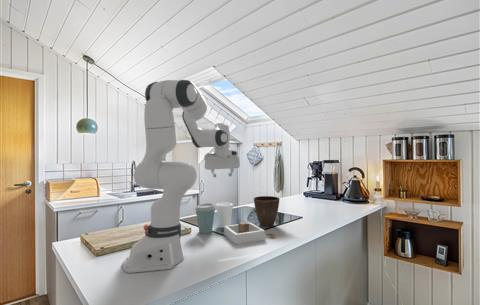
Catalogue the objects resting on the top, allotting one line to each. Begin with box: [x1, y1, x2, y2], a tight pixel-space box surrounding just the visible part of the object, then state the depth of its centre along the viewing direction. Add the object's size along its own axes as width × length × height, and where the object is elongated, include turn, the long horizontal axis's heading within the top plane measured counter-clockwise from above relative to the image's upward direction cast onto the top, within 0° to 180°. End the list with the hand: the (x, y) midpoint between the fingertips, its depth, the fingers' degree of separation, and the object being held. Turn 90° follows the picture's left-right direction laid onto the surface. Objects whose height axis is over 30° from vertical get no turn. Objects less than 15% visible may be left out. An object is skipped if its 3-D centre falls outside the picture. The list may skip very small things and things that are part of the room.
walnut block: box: [237, 221, 250, 233], centre depth 127 cm, size 4×4×7 cm
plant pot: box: [253, 195, 281, 228], centre depth 149 cm, size 15×15×16 cm
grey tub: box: [223, 222, 266, 245], centre depth 127 cm, size 15×15×5 cm
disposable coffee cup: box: [194, 202, 216, 235], centre depth 136 cm, size 11×11×15 cm
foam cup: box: [215, 202, 234, 229], centre depth 147 cm, size 10×9×13 cm
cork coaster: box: [265, 232, 279, 240], centre depth 129 cm, size 8×8×1 cm
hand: (222, 176), depth 146 cm, fingers open, 8 cm apart
